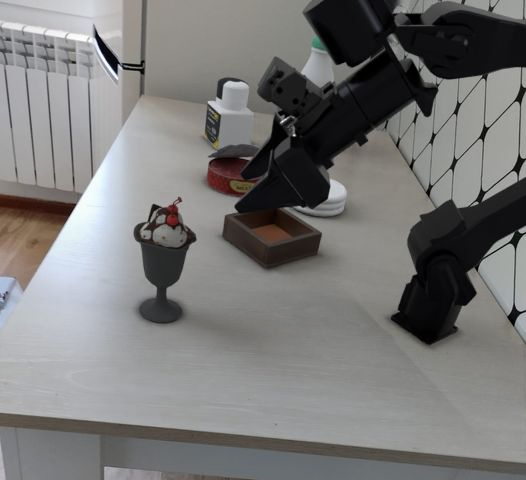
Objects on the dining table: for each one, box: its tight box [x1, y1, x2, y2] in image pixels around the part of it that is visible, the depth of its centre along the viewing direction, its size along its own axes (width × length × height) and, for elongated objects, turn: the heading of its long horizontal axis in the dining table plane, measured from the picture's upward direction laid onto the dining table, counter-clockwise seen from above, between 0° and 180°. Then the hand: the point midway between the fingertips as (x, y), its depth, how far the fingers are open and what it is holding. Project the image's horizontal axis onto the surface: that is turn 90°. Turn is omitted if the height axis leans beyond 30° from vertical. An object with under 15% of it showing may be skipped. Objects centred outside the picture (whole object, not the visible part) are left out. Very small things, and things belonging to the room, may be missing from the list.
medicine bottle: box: [204, 76, 255, 151], centre depth 114 cm, size 7×7×12 cm
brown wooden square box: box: [221, 208, 323, 270], centre depth 85 cm, size 10×10×4 cm
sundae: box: [133, 196, 198, 324], centre depth 64 cm, size 7×7×15 cm
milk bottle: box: [300, 36, 335, 88], centre depth 120 cm, size 8×8×20 cm
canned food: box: [206, 144, 262, 197], centre depth 100 cm, size 11×10×10 cm
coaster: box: [292, 178, 348, 218], centre depth 99 cm, size 10×10×4 cm
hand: (239, 192), depth 65 cm, fingers open, 9 cm apart
